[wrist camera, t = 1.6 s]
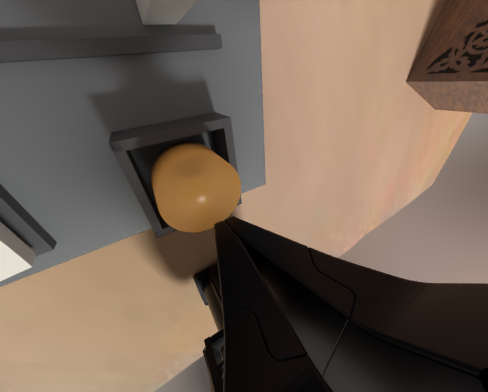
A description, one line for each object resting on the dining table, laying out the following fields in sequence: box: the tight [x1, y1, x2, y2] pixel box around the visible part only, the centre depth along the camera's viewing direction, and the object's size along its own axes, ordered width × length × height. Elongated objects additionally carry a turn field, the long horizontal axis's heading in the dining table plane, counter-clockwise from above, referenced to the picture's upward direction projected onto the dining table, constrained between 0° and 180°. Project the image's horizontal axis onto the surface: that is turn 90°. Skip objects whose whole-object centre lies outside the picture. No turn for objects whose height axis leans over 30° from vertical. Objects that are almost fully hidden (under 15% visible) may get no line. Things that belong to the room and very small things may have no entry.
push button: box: [150, 141, 241, 233], centre depth 11 cm, size 4×4×3 cm
